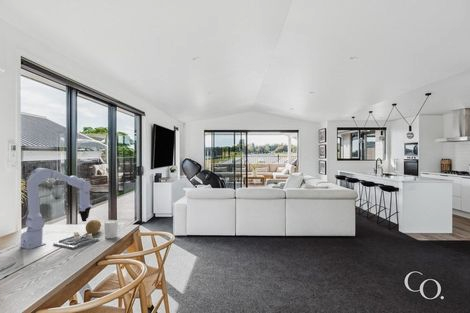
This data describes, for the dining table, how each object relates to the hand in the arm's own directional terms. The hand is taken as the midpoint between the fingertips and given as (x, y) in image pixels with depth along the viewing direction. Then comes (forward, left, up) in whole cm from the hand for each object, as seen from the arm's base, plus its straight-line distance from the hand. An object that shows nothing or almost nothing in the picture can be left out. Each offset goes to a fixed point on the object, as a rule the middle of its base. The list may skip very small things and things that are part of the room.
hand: (85, 219), depth 178 cm
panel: (-14, -10, -10) cm, 20 cm away
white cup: (+3, -19, -10) cm, 21 cm away
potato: (+4, -3, -10) cm, 11 cm away
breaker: (-14, -10, -9) cm, 19 cm away
